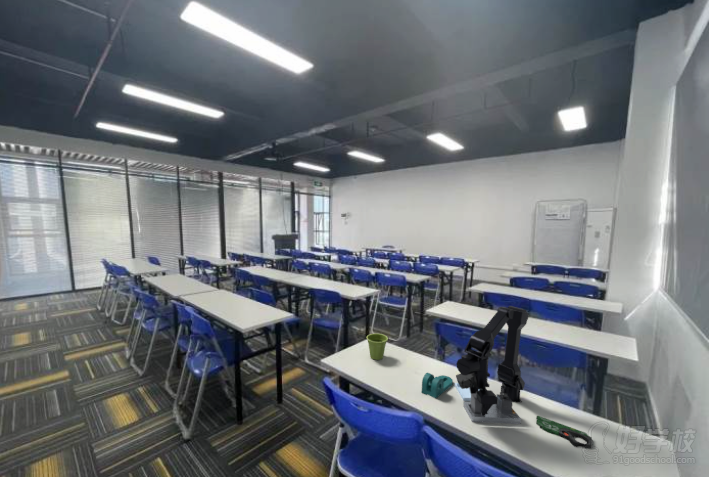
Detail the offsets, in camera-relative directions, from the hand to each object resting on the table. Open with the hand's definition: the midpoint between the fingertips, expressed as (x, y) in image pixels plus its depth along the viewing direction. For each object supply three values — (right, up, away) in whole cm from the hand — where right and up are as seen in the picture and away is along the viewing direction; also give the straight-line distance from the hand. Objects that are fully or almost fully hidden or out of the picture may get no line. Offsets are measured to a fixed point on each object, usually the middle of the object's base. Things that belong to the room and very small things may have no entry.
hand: (478, 407), depth 109 cm
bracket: (-10, -3, +18) cm, 21 cm away
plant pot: (-36, -1, +47) cm, 59 cm away
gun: (+27, -5, -8) cm, 28 cm away
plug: (0, -3, 0) cm, 3 cm away
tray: (+3, -3, +14) cm, 15 cm away
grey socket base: (+5, -3, 0) cm, 6 cm away
